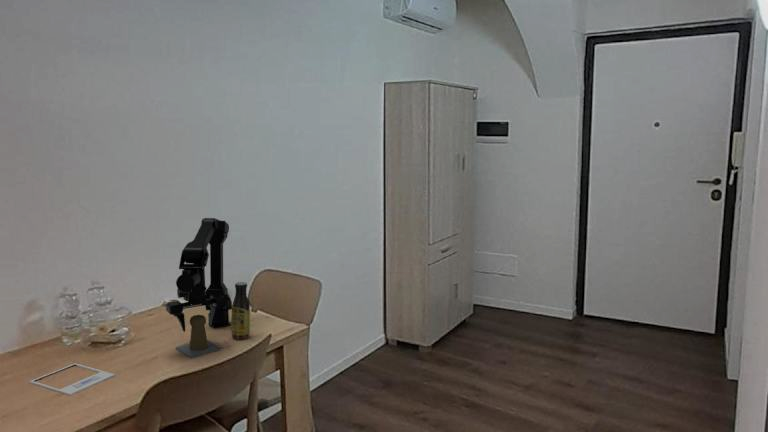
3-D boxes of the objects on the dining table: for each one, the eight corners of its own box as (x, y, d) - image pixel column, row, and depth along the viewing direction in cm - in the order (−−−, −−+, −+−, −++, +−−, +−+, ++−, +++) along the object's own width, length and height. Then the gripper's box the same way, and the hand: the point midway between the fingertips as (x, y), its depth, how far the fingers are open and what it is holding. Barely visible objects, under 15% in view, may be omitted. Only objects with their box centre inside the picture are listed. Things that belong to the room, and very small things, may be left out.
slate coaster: (205, 340, 203) (205, 339, 203) (221, 349, 195) (221, 347, 195) (175, 348, 195) (175, 347, 195) (191, 358, 188) (191, 356, 187)
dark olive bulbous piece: (211, 344, 198) (210, 313, 196) (203, 351, 192) (202, 319, 190) (194, 343, 198) (192, 312, 197) (186, 350, 193) (185, 318, 191)
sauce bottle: (228, 338, 205) (226, 284, 202) (238, 333, 211) (237, 279, 208) (243, 341, 203) (242, 286, 200) (254, 335, 208) (252, 281, 205)
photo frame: (70, 393, 161) (29, 380, 169) (70, 397, 161) (29, 384, 169) (115, 373, 174) (74, 362, 182) (115, 377, 174) (75, 366, 182)
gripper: (215, 274, 203) (217, 317, 206) (160, 282, 193) (162, 327, 195) (226, 281, 194) (228, 326, 197) (169, 289, 184) (171, 337, 186)
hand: (198, 328), depth 194 cm, fingers open, 9 cm apart
